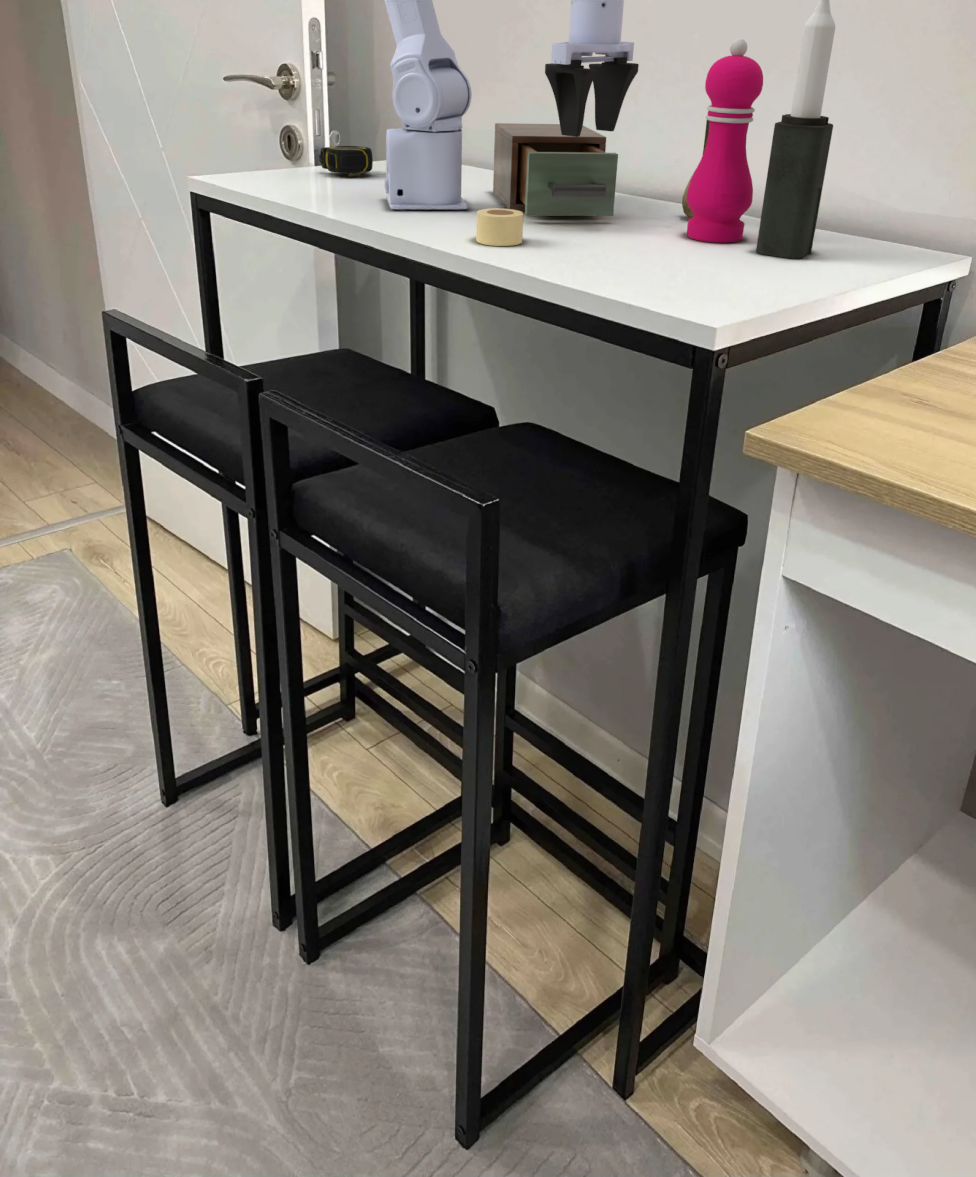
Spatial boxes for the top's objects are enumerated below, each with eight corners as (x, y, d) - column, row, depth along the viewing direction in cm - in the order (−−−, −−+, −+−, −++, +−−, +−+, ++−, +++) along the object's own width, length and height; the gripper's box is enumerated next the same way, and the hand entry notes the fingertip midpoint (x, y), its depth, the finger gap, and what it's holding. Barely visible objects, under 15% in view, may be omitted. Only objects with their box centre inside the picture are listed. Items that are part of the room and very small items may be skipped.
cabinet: (600, 211, 132) (606, 137, 128) (509, 211, 131) (512, 135, 126) (577, 193, 144) (581, 124, 140) (492, 192, 142) (494, 123, 138)
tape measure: (364, 170, 156) (363, 143, 154) (379, 177, 151) (378, 149, 149) (319, 172, 154) (318, 144, 152) (333, 179, 148) (331, 150, 146)
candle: (799, 259, 110) (845, -16, 98) (752, 253, 113) (792, -17, 100) (814, 251, 114) (860, -15, 102) (768, 245, 117) (808, -16, 104)
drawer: (622, 222, 121) (627, 159, 118) (533, 222, 120) (536, 158, 116) (588, 197, 135) (592, 140, 132) (508, 197, 134) (511, 139, 131)
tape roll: (479, 246, 112) (480, 216, 110) (473, 236, 116) (473, 208, 115) (526, 246, 113) (527, 216, 111) (517, 236, 117) (519, 208, 115)
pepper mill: (708, 246, 115) (734, 40, 106) (669, 233, 121) (690, 36, 111) (760, 241, 118) (790, 40, 109) (719, 229, 124) (744, 37, 114)
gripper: (595, -3, 107) (585, 141, 114) (662, -1, 117) (649, 131, 124) (537, -5, 111) (530, 135, 117) (607, -3, 121) (597, 126, 128)
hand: (588, 133), depth 121 cm, fingers open, 7 cm apart
